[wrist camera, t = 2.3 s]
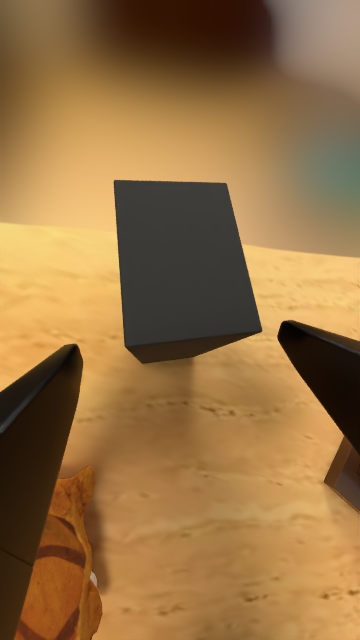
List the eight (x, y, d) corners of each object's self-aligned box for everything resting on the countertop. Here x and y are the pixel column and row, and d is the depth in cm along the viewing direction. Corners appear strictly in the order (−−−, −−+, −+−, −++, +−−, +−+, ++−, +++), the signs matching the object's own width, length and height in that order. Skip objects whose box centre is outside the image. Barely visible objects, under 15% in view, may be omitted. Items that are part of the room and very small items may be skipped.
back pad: (194, 356, 19) (263, 331, 7) (141, 363, 18) (124, 347, 6) (184, 289, 20) (227, 182, 9) (135, 292, 19) (113, 179, 8)
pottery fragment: (101, 653, 11) (-199, 845, 7) (104, 579, 15) (-84, 676, 11) (90, 444, 13) (-127, 506, 10) (95, 432, 17) (-57, 472, 14)
